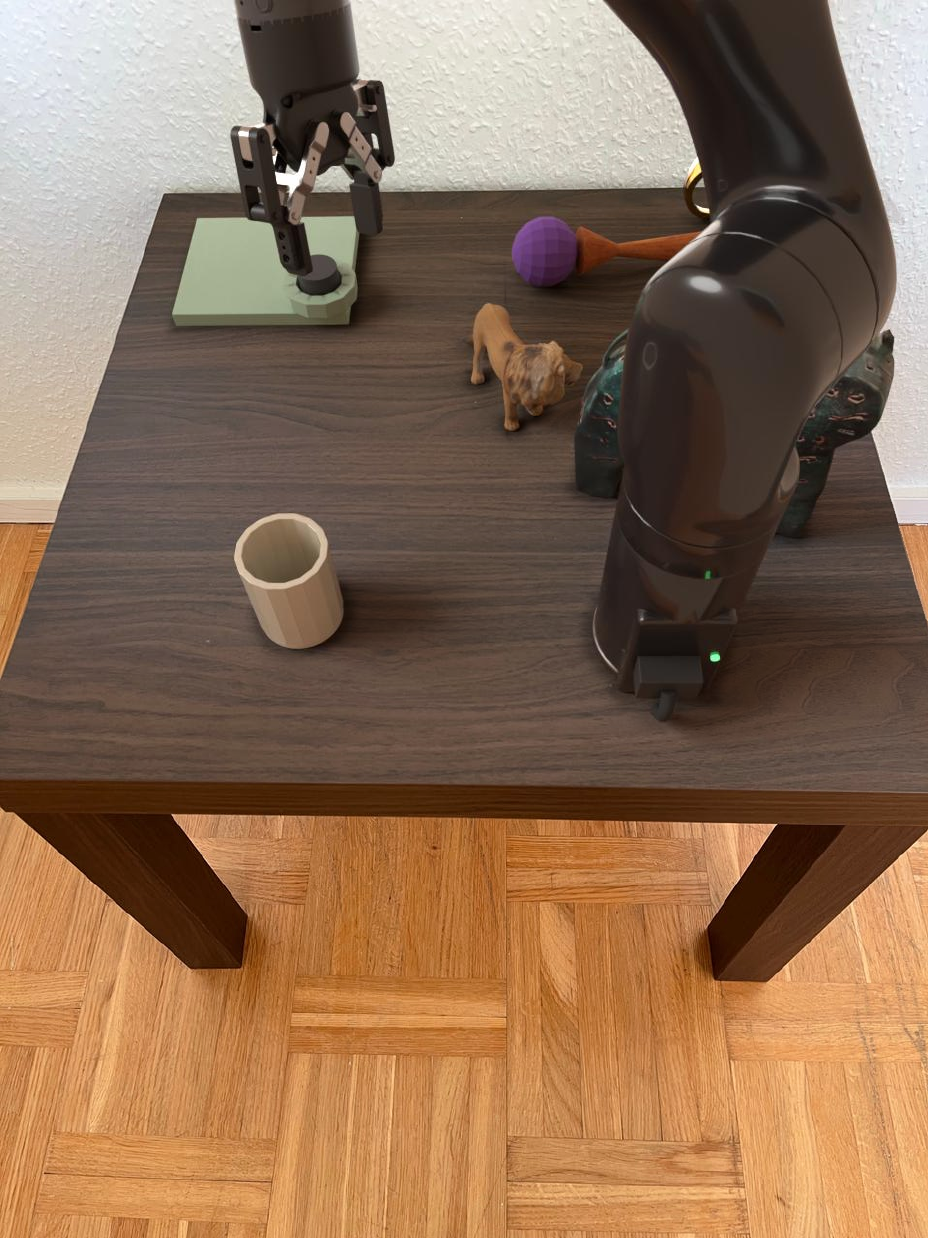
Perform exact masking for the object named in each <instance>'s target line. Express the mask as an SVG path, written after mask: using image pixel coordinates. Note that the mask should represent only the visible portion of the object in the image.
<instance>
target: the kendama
mask: <svg viewBox="0 0 928 1238" xmlns="http://www.w3.org/2000/svg"><path fill="white" fill-rule="evenodd" d="M702 231H703V230H702ZM702 231H695V232H688V233H682V234H673V235H667V236H661V237H653V238H647V239H641V240H633V241H626V242H621V243H616V242H614V241H613V240H610V239H608V238H606V237H604V236H602V235H599V234H598V233H596V232H594V231H591V230H589V229H587V228H585V227H583V226H579V227H578V228H577V230H576V233H575V232H574V231H573V230H572V229H571V228H570V227H569V226H568V224H567V223H566V222H565V221H563V220H561V219H558V218H557V217H555V216H553V215H552V216H538V217H535V218H533V219H532V220H530V221H528V222H526V223H525V224H524V226H522V227H521V229H520V230H519V231H518V232H517V233H516V235H515V238H514V240H513V244H512V247H511V258H512V261H513V264H514V267H515V271H516V273H518V275H520V276H521V278H522V279H523V280H524V281H525V282H526V283H529V284H531V285H533V286H535V287H538V288H543V287H552V286H554V285H557V284H559V283H561V282H563V281H565V280H566V279H567V278H568V277H569V275H571V273H572V272H574V270H575V271H576V274H577V275H578V276H582V275H583V274H585V273H587V272H588V271H591V270H593V269H595V268H597V267H599V266H601V265H603V264H604V263H607V262H608V261H611V260H612V259H614V258H616V257H618V258H628V259H637V260H647V261H648V260H650V261H660V262H668V261H669V260H670V259H671V258H672V257H673V256H675V255H676V254H677V253H678V252H679V251H680V250H682V249H683V248H684V247H685V246H686V245H687V244H688V243H689V242H691V241H692V240H693V239H694V238H695V237H696V236H698V235H699V234H700V233H701V232H702Z"/></svg>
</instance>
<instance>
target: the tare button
mask: <svg viewBox="0 0 928 1238" xmlns="http://www.w3.org/2000/svg"><path fill="white" fill-rule="evenodd" d="M311 261H312V266H313V271H312V272H311V273H310V274H308V275H306V276H299V275H298V279H299V284H300V288H301V289H302V291H303V292H304V293H306V294H308V295H311V296H323V295H326V294H329V293H331V292H334V291H335V290H336V289H337V287H338V286H339V275H338V269H337V264H336V262H335V260H334V259H333V258H331V257H329V256H327V255H322V254H316V255H311Z"/></svg>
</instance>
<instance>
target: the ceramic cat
mask: <svg viewBox="0 0 928 1238" xmlns="http://www.w3.org/2000/svg"><path fill="white" fill-rule="evenodd" d="M628 329H629V328H627V329H625V330H624V331H623V332H622V333H620V334H619V335H618V336H617V337H616V338H615V339H614V340H613V341H612V343H611V344H610V345H609V346H608V348H607V350H606V352H605V353H604V355H603V357H602V361H601V363H602V364H601V366H600V367H599V368H598V369H597V371H596V372H595V373H594V374H593V375H592V377H591V378H590V380H589V382H588V383H587V385H586V387H585V389H584V392H583V395H582V399H581V407H580V413H579V417H578V421H577V424H576V427H575V430H574V436H573V437H574V438H573V440H574V441H573V449H574V465H575V466H574V471H575V472H574V473H575V488H576V490H577V492H581V493H584V494H586V495H590V496H593V497H599V498H604V499H607V498H615V495H616V491H617V487H618V484H619V480H620V477H621V473H622V470H624V462H623V459H622V456H621V453H620V449H619V444H618V438H617V418H618V408H619V399H620V389H621V380H622V370H623V361H624V353H625V345H626V343H625V344H623V345H621V346H619V347H617V346H618V345H619V344H621V343H622V342H623V341H624V340H626V339H627V334H628ZM894 345H895V336H894V335H893V333H892V330H891V329H890V328H889V329H886V330H883V331H881V332H880V333H879V334H878V336H877V338H876V339H875V341H874V342H873V343H872V345H871V346H870V347H869V349H868V350H867V351H866V352H865V353H864V354H863V355H862V357H861V358H860V359H859V360H858V361H857V362H856V363H855V364H854V365H853V366H852V367H851V369H850V370H849V371H848V372H847V373H846V374H845V375H844V376H843V377H842V378H841V379H840V380H839V382H838V383H837V384H836V385H835V386H834V387H833V388H832V389H831V390H830V391H829V392H828V394H827V395H826V396H825V397H824V398H823V399H822V400H821V401H820V402H819V403H818V404H817V405H816V406H815V408H814V409H813V410H812V412H811V414H810V415H809V417H808V419H807V421H806V423H805V425H804V427H803V429H802V431H801V433H800V435H799V438H798V440H797V442H796V448H797V451H798V455H799V462H800V471H799V478H798V482H797V486H796V488H795V491H794V493H793V496H792V498H791V500H790V502H789V504H788V507H787V509H786V511H785V513H784V515H783V517H782V519H781V522H780V524H779V526H778V528H777V531H776V533H775V534H779V535H783V536H786V537H788V538H793V539H799V537H800V536H801V534H802V532H803V531H804V528H805V527H806V525H807V523H808V522H809V520H810V519H811V516H812V513H813V511H814V509H815V507H816V504H817V501H818V500H819V498H820V496H821V495H822V493H823V492H824V490H825V488H826V484H827V480H828V476H829V474H830V469H831V467H832V463H833V460H834V457H835V456H834V455H835V451H836V449H837V448H840V447H843V446H844V445H846V444H849V443H851V442H854V441H858V440H860V439H863V438H864V437H865V436H867V435H870V433H871V432H872V431H873V430H874V429H876V428H877V426H878V424H879V423H880V421H881V419H882V417H883V414H884V410H885V408H886V404H887V402H888V398H889V396H890V392H891V388H892V384H893V380H894V377H895V357H894V354H893V353H894V347H895V346H894ZM616 347H617V348H616ZM615 348H616V349H615Z"/></svg>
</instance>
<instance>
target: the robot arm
mask: <svg viewBox="0 0 928 1238" xmlns="http://www.w3.org/2000/svg"><path fill="white" fill-rule="evenodd" d="M600 1H601V2H602V3H603V4H604V5H605V6H606V7H607V9H608V10H609V11H610V12H611V13H612V14H613V15H614V16H615V17H616V19H618V20H619V22H620V23H621V24H622V26H624V28H626V29H627V30H628V31H629V33H631V34H632V36H633V37H634V38H635V39H636V41H638V42H639V44H640V45H641V46H642V47H643V49H644V50H645V51H646V52H647V53H648V54H649V55H650V57H651V58H652V59H653V60H654V61H655V64H656V65H657V66H658V67H659V69H660V71H661V72H662V73H663V75H664V76H665V78H666V80H667V82H668V84H669V85H670V88H672V91H673V93H674V95H675V97H676V99H677V100H678V104H679V106H680V109H681V111H682V113H683V116H684V118H685V122H686V124H687V127H688V130H689V133H690V137H691V140H692V143H693V147H694V150H695V153H696V158H697V157H698V161H699V165H700V168H701V172H702V177H703V178H702V181H703V185H704V189H705V194H706V199H707V206H708V208H709V214H710V220H709V225H708V226H706V227H705V228H704V229H703V230H702V232H701V231H700V232H701V233H700V234H699V235H698V236H696V237H695V238H694V239H693V240H692V241H691V242H689V243H688V244H687V245H686V246H685V247H684V248H683V249H682V250H680V251H679V252H678V253H677V254H676V255H675V256H673V257H672V258H671V259H670V260H669V261H666V262H665V263H664V264H663V265H662V266H661V267H660V268H659V269H657V271H655V273H654V274H653V275H652V276H651V277H650V278H649V280H648V281H647V282H646V284H645V285H644V286H643V288H642V290H641V292H640V294H639V295H638V298H637V300H636V302H635V305H634V308H633V312H632V313H631V314H632V315H631V318H630V321H629V324H628V325H629V326H628V328H627V329H628V334H627V338H626V339H625V344H626V345H625V344H624V345H625V353H624V361H623V370H622V380H621V389H620V399H619V408H618V418H617V438H618V444H619V449H620V453H621V456H622V459H623V462H624V468H623V469H622V475H621V480H620V485H619V491H618V496H617V501H616V505H615V511H614V516H613V520H612V526H611V531H610V536H609V541H608V547H607V552H606V557H605V562H604V568H603V574H602V578H601V583H600V587H599V593H598V599H597V605H596V608H595V610H594V613H593V618H592V623H591V638H592V644H593V647H594V651H595V652H596V655H597V657H598V658H599V660H600V662H601V663H602V665H603V666H604V667H605V668H606V669H607V670H608V671H609V672H610V673H611V674H612V676H614V677H615V678H616V681H617V688H618V691H619V692H622V693H634V696H635V697H634V698H635V699H636V700H637V699H639V700H640V699H641V700H643V699H644V700H645V699H646V700H647V699H648V700H649V699H650V700H651V699H655V700H659V702H655V703H653V704H652V705H650V708H649V712H650V715H652V717H653V718H654V720H656V721H657V722H659V723H666V722H668V721H669V720H671V718H672V717H673V714H674V710H675V705H676V699H679V700H684V699H685V700H693V699H694V700H696V699H697V698H698V696H699V694H700V693H707V692H708V690H709V688H710V686H711V684H712V682H713V679H714V678H715V675H716V673H717V670H718V668H719V667H720V665H721V662H722V660H723V657H724V655H725V653H726V651H727V649H728V646H729V644H730V642H731V640H732V638H733V636H734V634H735V631H736V629H737V626H738V623H739V618H738V617H739V614H740V612H741V610H742V608H743V605H744V604H745V601H746V598H747V596H748V594H749V593H750V591H751V590H750V589H751V588H752V585H753V583H754V581H755V579H756V577H757V575H758V572H759V570H760V567H761V566H762V563H763V561H764V559H765V557H766V554H767V552H768V550H769V548H770V545H771V543H772V541H773V539H774V537H775V535H776V534H777V533H776V531H777V528H778V526H779V524H780V522H781V519H782V517H783V515H784V513H785V511H786V509H787V507H788V504H789V502H790V500H791V498H792V496H793V493H794V491H795V488H796V486H797V482H798V478H799V471H800V462H799V455H798V451H797V448H796V442H797V440H798V438H799V435H800V433H801V431H802V429H803V427H804V425H805V423H806V421H807V419H808V417H809V415H810V414H811V412H812V410H813V409H814V408H815V406H816V405H817V404H818V403H819V402H820V401H821V400H822V399H823V398H824V397H825V396H826V395H827V394H828V392H829V391H830V390H831V389H832V388H833V387H834V386H835V385H836V384H837V383H838V382H839V380H840V379H841V378H842V377H843V376H844V375H845V374H846V373H847V372H848V371H849V370H850V369H851V367H852V366H853V365H854V364H855V363H856V362H857V361H858V360H859V359H860V358H861V357H862V355H863V354H864V353H865V352H866V351H867V350H868V349H869V347H870V346H871V345H872V343H873V342H874V341H875V339H876V338H877V336H878V335H879V334H881V332H882V330H883V328H884V327H885V326H886V325H885V324H886V323H887V321H888V319H889V316H890V314H891V311H892V307H893V304H894V301H895V297H896V293H897V282H898V281H897V280H898V271H897V257H896V251H895V244H894V238H893V234H892V229H891V226H890V221H889V216H888V213H887V210H886V206H885V202H884V199H883V195H882V192H881V188H880V185H879V183H878V179H877V175H876V172H875V169H874V167H873V166H874V165H873V162H872V159H871V156H870V151H869V148H868V145H867V142H866V139H865V135H864V131H863V129H862V126H861V122H860V120H859V115H858V111H857V109H856V106H855V102H854V99H853V95H852V92H851V88H850V86H849V85H850V84H849V82H848V79H847V75H846V71H845V67H844V65H843V61H842V57H841V53H840V49H839V45H838V44H839V43H838V40H837V36H836V32H835V28H834V24H833V19H832V13H831V9H830V3H829V0H600ZM232 3H233V8H234V11H235V17H236V22H237V26H238V31H239V36H240V40H241V45H242V50H243V54H244V55H243V56H244V60H245V65H246V69H247V74H248V78H249V83H250V85H251V88H252V89H253V90H254V91H255V92H256V93H257V95H258V96H259V98H260V100H261V101H262V105H263V114H262V115H263V116H262V122H261V123H258V124H253V125H250V126H249V125H234V126H233V127H231V130H230V132H229V133H230V134H229V135H230V142H231V147H232V154H233V158H234V164H235V168H236V169H235V170H236V173H237V178H238V179H237V180H238V184H239V190H240V195H241V200H242V205H243V211H244V215H245V218H247V219H248V220H251V221H259V222H264V223H270V224H271V225H272V227H273V230H274V235H275V240H276V244H277V248H278V254H279V258H280V263H281V264H282V266H283V268H285V269H286V271H287V272H288V273H290V274H294V275H299V276H306V275H308V274H310V273H311V272H312V271H313V266H312V261H311V256H310V251H309V245H308V240H307V235H306V230H305V225H304V222H300V220H301V217H303V212H304V207H305V203H306V200H307V199H306V198H307V196H308V195H309V194H311V193H312V192H313V190H314V188H315V184H316V179H317V177H319V176H322V175H323V174H325V173H326V172H327V171H328V170H329V169H330V168H332V167H340V168H341V169H342V170H343V172H344V173H345V174H346V175H347V177H348V178H349V180H351V181H352V182H351V183H349V184H348V185H349V193H350V200H351V206H352V211H353V216H354V219H355V225H356V229H357V231H358V232H359V235H360V234H361V235H367V236H372V237H376V236H377V235H379V234H381V233H382V231H383V230H384V228H383V220H384V219H383V218H384V213H383V208H382V207H383V206H382V199H381V193H380V184H379V183H380V182H381V181H382V179H383V171H384V170H385V169H386V168H392V167H393V166H394V164H395V161H396V156H395V148H394V142H393V136H392V130H391V124H390V117H389V112H388V105H387V98H386V93H385V86H384V83H383V82H382V81H381V80H376V79H365V78H364V79H362V78H358V77H359V75H360V70H361V69H360V61H359V54H358V46H357V40H356V33H355V25H354V18H353V12H352V11H353V10H352V4H351V0H232ZM373 135H375V137H376V140H377V146H378V147H374V140H373ZM287 167H289V168H290V169H291V170H292V171H293V172H295V174H292V173H291V174H289V173H287ZM259 190H260V192H259ZM288 191H289V192H288ZM287 192H288V198H287V201H286V204H284V202H285V198H286V194H287ZM260 195H261V199H262V202H261V199H260Z"/></svg>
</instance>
